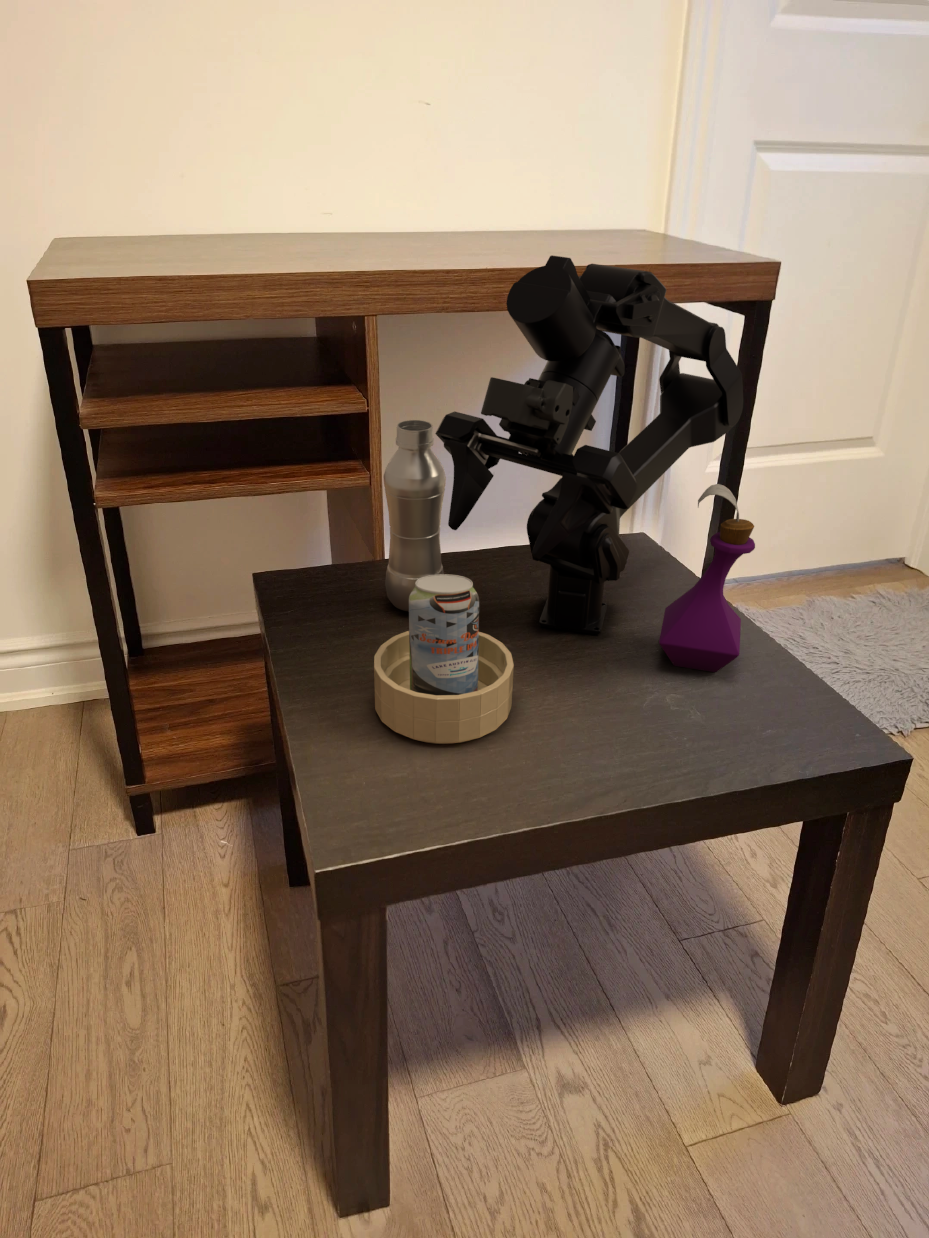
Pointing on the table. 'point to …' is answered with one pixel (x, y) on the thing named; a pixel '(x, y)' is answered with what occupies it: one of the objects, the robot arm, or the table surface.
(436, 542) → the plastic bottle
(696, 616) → the purple corked potion flask
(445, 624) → the beverage can
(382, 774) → the table surface
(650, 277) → the robot arm
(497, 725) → the bowl
